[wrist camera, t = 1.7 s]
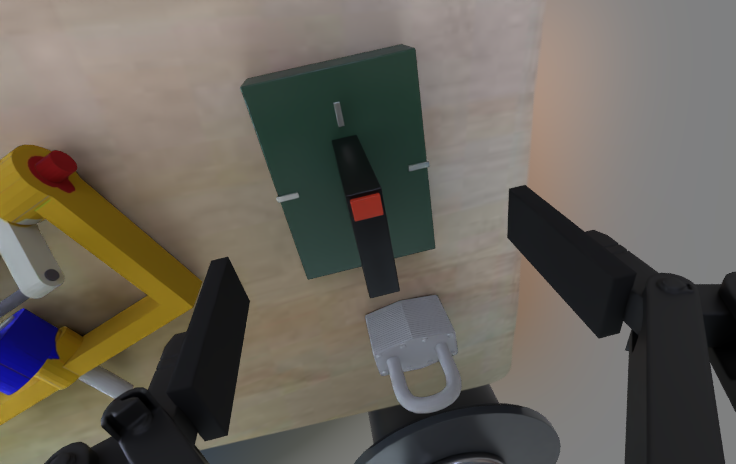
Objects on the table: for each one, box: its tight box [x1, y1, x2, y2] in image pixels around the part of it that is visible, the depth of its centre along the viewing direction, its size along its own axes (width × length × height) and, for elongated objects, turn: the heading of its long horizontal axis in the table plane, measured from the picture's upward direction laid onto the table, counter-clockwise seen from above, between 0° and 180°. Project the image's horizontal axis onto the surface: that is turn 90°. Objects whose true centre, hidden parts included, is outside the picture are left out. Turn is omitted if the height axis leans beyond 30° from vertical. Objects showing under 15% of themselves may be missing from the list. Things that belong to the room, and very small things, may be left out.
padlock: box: [365, 295, 462, 413], centre depth 31 cm, size 7×4×10 cm, turn 103°
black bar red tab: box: [332, 135, 400, 298], centre depth 20 cm, size 6×2×8 cm, turn 10°
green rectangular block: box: [240, 44, 435, 280], centre depth 25 cm, size 14×10×3 cm
